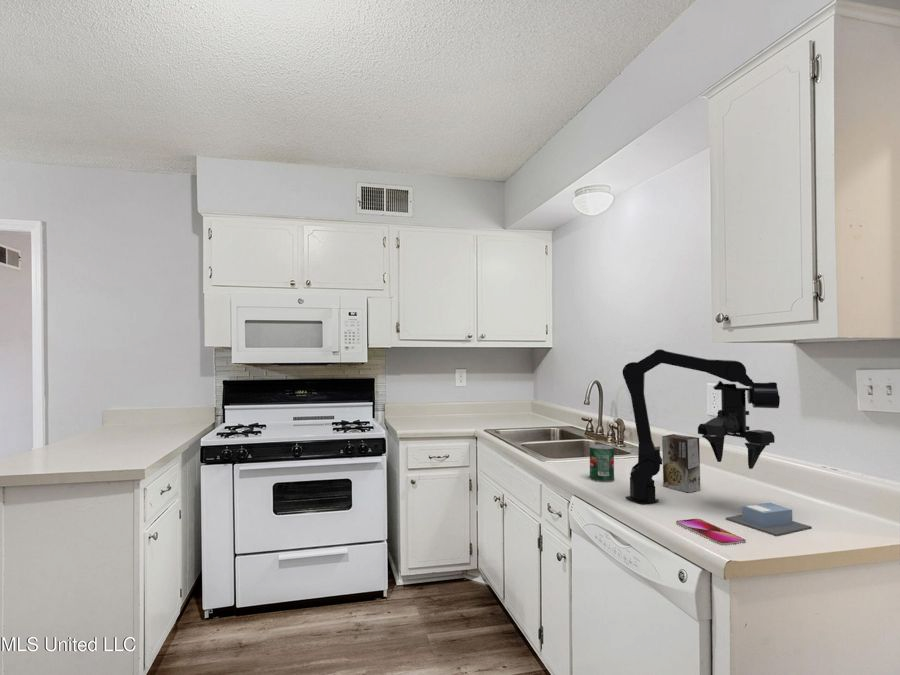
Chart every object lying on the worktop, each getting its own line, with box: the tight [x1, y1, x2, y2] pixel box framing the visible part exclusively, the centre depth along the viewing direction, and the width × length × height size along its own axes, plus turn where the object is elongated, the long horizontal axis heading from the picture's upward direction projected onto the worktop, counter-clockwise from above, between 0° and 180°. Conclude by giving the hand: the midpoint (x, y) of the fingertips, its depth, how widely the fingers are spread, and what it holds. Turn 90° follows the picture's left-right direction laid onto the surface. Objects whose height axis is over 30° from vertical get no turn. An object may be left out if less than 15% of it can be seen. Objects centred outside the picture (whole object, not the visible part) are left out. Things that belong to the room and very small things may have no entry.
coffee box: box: [661, 433, 701, 493], centre depth 158 cm, size 9×6×16 cm
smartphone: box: [675, 518, 747, 546], centre depth 119 cm, size 7×1×15 cm
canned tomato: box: [589, 443, 615, 483], centre depth 169 cm, size 8×8×11 cm
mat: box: [725, 513, 813, 537], centre depth 125 cm, size 13×13×1 cm
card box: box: [741, 502, 793, 528], centre depth 125 cm, size 9×6×4 cm, turn 107°
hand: (734, 465), depth 136 cm, fingers open, 9 cm apart
